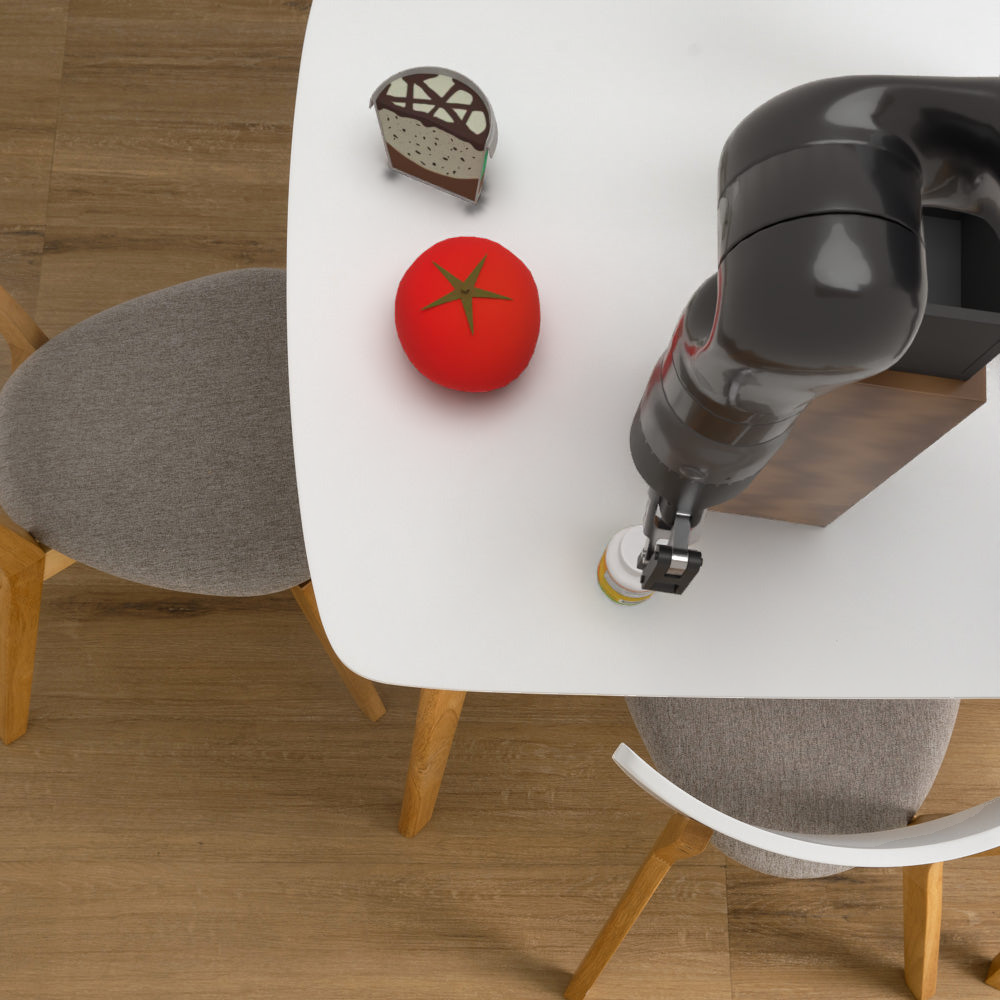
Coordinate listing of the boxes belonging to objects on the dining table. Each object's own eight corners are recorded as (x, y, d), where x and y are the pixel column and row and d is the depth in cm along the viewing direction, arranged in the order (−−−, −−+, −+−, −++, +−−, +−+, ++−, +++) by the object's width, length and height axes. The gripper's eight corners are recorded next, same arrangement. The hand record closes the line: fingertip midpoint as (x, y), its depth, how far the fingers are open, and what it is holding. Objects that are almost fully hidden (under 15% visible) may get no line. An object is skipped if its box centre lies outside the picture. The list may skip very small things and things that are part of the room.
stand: (831, 384, 90) (985, 205, 63) (825, 527, 85) (987, 402, 59) (682, 362, 90) (771, 176, 63) (668, 504, 86) (758, 369, 59)
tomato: (393, 279, 92) (383, 215, 82) (527, 269, 92) (534, 204, 82) (404, 418, 87) (395, 369, 77) (544, 407, 88) (554, 356, 78)
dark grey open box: (966, 219, 62) (1024, 151, 56) (967, 381, 59) (1028, 329, 53) (788, 194, 63) (825, 123, 56) (778, 354, 59) (816, 299, 53)
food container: (516, 162, 96) (521, 91, 86) (490, 210, 94) (492, 143, 84) (404, 116, 97) (397, 41, 88) (376, 163, 95) (366, 92, 86)
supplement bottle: (625, 533, 85) (644, 500, 75) (670, 577, 84) (695, 548, 74) (583, 575, 83) (596, 547, 74) (628, 620, 82) (648, 596, 73)
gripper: (776, 556, 48) (704, 616, 64) (792, 303, 52) (721, 417, 68) (626, 534, 48) (591, 599, 64) (654, 284, 53) (615, 402, 68)
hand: (658, 505), depth 66 cm, fingers open, 8 cm apart
